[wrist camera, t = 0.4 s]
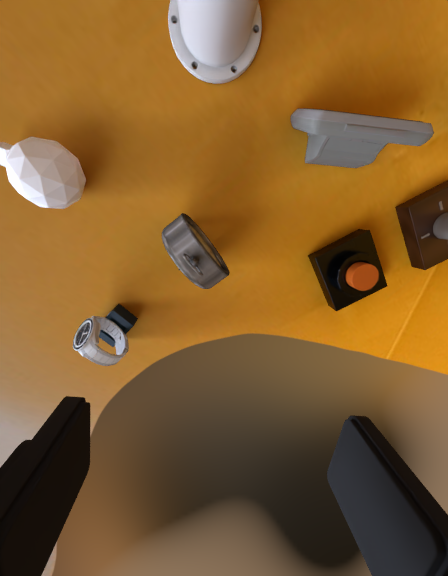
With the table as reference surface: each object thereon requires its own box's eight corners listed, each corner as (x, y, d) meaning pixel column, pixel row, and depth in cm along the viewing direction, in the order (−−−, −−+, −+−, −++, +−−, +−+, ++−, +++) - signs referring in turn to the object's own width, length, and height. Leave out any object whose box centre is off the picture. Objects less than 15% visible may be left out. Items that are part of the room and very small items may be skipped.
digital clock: (390, 126, 40) (454, 95, 29) (366, 184, 42) (419, 175, 32) (297, 89, 37) (332, 43, 27) (277, 154, 40) (303, 133, 29)
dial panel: (395, 207, 43) (409, 206, 40) (449, 179, 43) (467, 176, 40) (411, 266, 47) (426, 270, 44) (461, 241, 46) (480, 243, 43)
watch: (109, 296, 44) (80, 322, 33) (145, 324, 46) (128, 357, 35) (90, 317, 45) (55, 349, 34) (126, 344, 47) (103, 382, 36)
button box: (307, 255, 45) (320, 260, 40) (359, 228, 44) (377, 230, 39) (328, 305, 48) (342, 315, 43) (376, 281, 47) (396, 289, 42)
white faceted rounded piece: (103, 155, 36) (23, 118, 35) (56, 158, 28) (-47, 110, 27) (96, 211, 41) (25, 179, 40) (54, 226, 33) (-35, 187, 32)
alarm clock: (227, 263, 44) (240, 290, 28) (203, 281, 44) (203, 317, 29) (188, 211, 41) (178, 209, 25) (162, 231, 42) (138, 242, 26)
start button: (341, 269, 41) (348, 272, 39) (366, 256, 41) (374, 259, 39) (349, 291, 42) (357, 295, 40) (373, 279, 42) (382, 282, 40)
